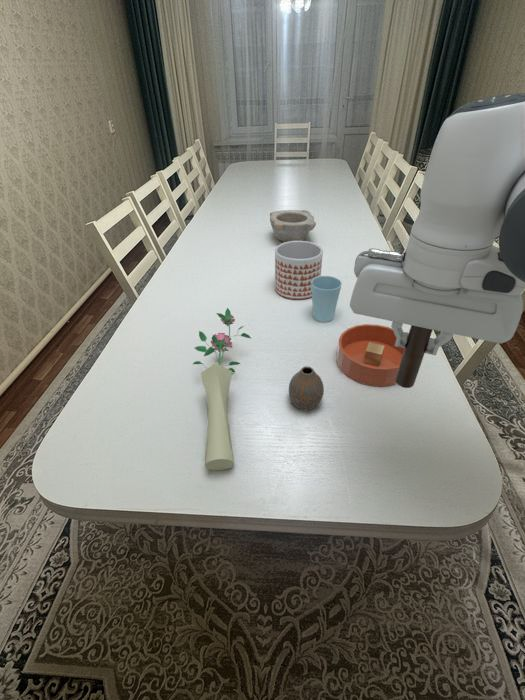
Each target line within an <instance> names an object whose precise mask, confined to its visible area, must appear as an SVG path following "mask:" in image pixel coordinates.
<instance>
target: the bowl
mask: <svg viewBox="0 0 525 700" xmlns="http://www.w3.org/2000/svg"><path fill="white" fill-rule="evenodd" d="M396 338H397V337H396V336H395V334H394V332H393V329H392V327H390V326H387V325H386V326H384V325H380V324H370V323H368V324H367V323H365V324H359V325H354V326H352V327H349V328H347V329H345V330H344V331H342V333H341V334H340V336H339V338H338V342H337V350H336V363H337V366H338V368H339V370H340V371H341V372H342V373H343V374H344V375H345V376H346V377H347V378H349V379H351V380H353V381H355V382H357V383H359V384H362V385H366V386H369V387H391V386H395V385H398V384H397V383H396V381H395V379H396V376H397V372H398V369H399V365H400V362H401V358H402V355H403V352H404V348H400V347H396V346H395V342H396ZM369 342H371V343H375V344H380V345H384V351H383V355H382V359H381V362H380V365H379V366H375V365H371V364H367V363H364V357H365V352H366V349H367V346H368V343H369Z"/></svg>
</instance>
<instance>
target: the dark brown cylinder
mask: <svg viewBox="0 0 525 700" xmlns="http://www.w3.org/2000/svg"><path fill="white" fill-rule="evenodd" d="M408 333H409V334H408V339H407V343H406V346H405V348H404V352H403V355H402V358H401V362H400V365H399V369H398V372H397V376H396V379H395V381H396V383H397V384H396V385H397V386H399V387H401V388H404V389H410V388H413V386H414V385H415V383H416V381H417V377H418V374H419V371H420V369H421V366H422V363H423V360H424V357H425V354H426V353H425V350H426V348H427V344H428V342H429V339H430V338H431V336H432V333H433V330H432V329H427V328H422V327H418V326H413V325H410V328H409V331H408Z"/></svg>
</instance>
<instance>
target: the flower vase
mask: <svg viewBox="0 0 525 700" xmlns="http://www.w3.org/2000/svg"><path fill="white" fill-rule="evenodd" d="M216 315H217V316H218V317H219V318H220V321H221V323H222V324H223V325H225V326H226V327H228V334H225V332H218V333H217V334H216V333H215V334H212V337H211V340H210V344H211V346H210V345H209V344H208V343H207V341H206V340H207V339H208V337H207V335H206V334H205V333H204V332H202V331H201V330H199V331H198V336H199V340H200V341H201V342H205V344H206V345H207V346H208V348H207V346H205V345H197V346H195V347H194V349H195V350H196V351H197V352H201V353H204V354H203V357H206V356H210V355H211V354H213V353H215V357H216V360H217V362H214V363H213V364H211V365H210V366H209V367H205V370H203V371H202V372H200V375H201V379H202V383H203V387H204V392H205V395H206V401H207V411H208V412H207V434H206V435H207V436H206V445H205V457H204V458H205V459H204V467H205V469H207V470H211V471H224V470H228V469H230V468H232V467H233V466H234V465H235V459H234V454H233V453H234V452H233V448H232V439H231V431H230V424H229V416H228V399H229V392H230V386H231V381H232V375H233V373H235V374H236V369H234V368H233V367H228V366H238V365H241V362H238V361H237V360H236V361H233V360H231V361H229V362H228V364H226V366H225V365H223V366H222V365H221V364H222V361H223V357H224V354H225V352H229V349H233V341H232V337H231V328H230V327H231V325H233V324H234V323H236V322H235V320H236V319H235V317H234V315H232V313H231V310H230V309H229V307H226V309H225V311H224V314H223V313H219V312H216ZM244 327H245V326H244V325H243V326H240V327H239V328H238V329H237V331H240V330H241V329H243V328H244ZM238 333H239V332H237V334H235V335H234V337H238V336H239V337H240V336H241V337H243V338H245V339H246V338H247V339H252V337H251V336H250V334H249V333H246V332H242V333H241V334H238ZM228 348H229V349H228ZM216 351H217V352H216ZM221 353H222V354H221ZM192 365H203V363H202V362H201V361H200V360H196V361H194V362H193V363H192Z"/></svg>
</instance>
